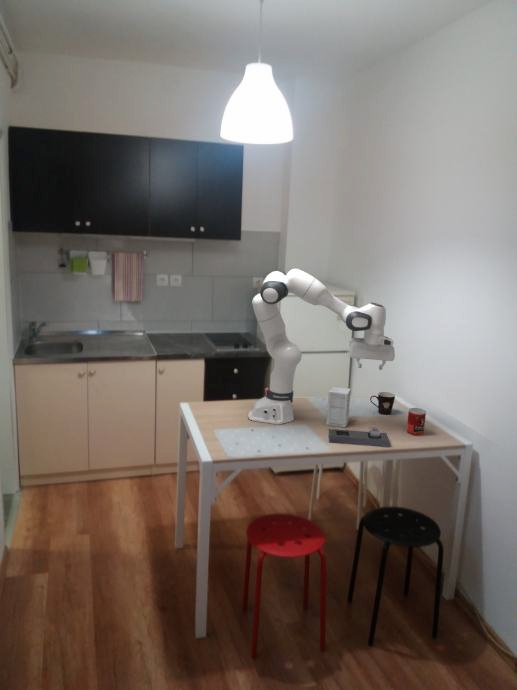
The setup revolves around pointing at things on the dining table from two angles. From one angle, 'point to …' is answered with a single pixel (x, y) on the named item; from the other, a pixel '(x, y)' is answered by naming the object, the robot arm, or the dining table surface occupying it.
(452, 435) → the dining table surface
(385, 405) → the coffee mug
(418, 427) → the canned food
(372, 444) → the grey slotted base block
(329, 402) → the supplement box
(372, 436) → the nut block
